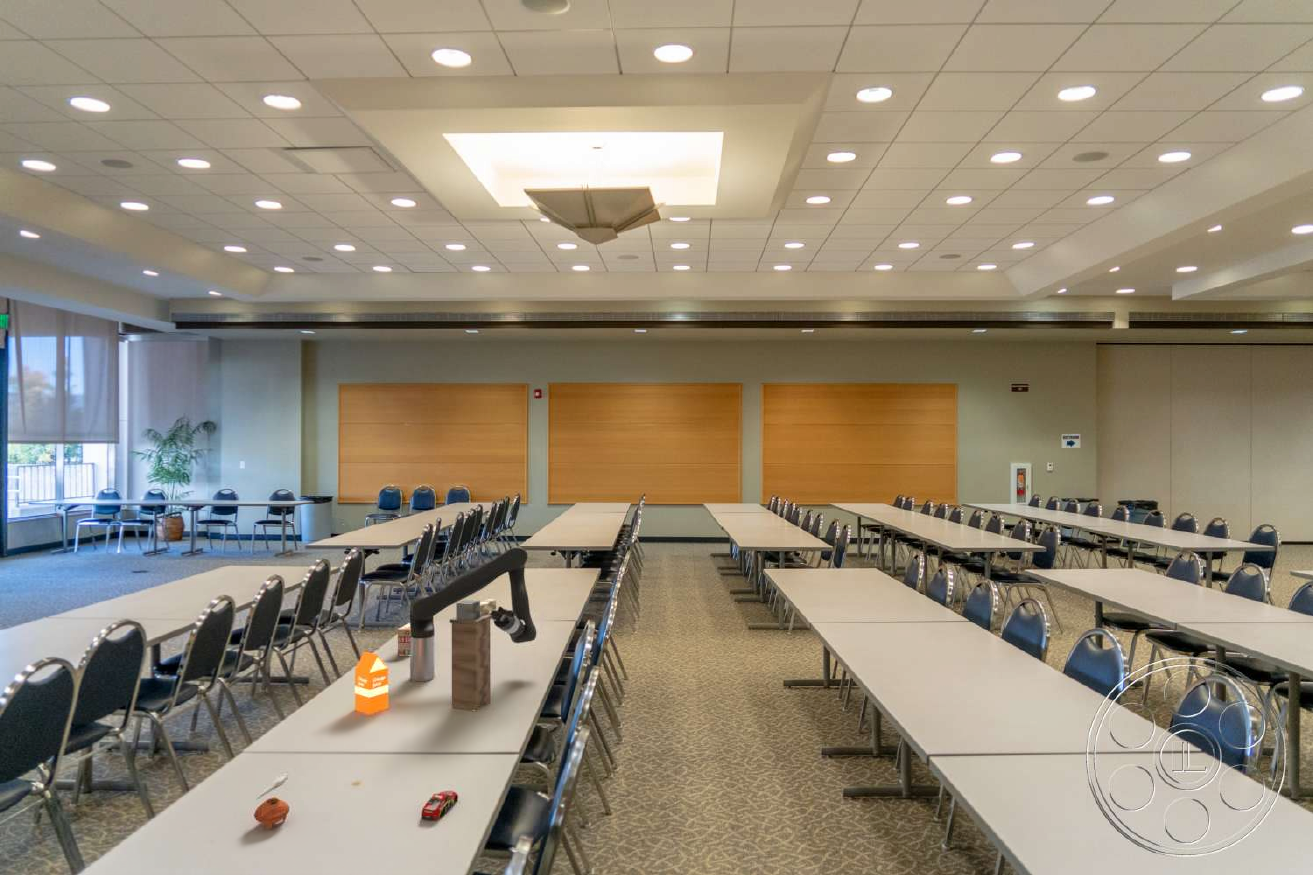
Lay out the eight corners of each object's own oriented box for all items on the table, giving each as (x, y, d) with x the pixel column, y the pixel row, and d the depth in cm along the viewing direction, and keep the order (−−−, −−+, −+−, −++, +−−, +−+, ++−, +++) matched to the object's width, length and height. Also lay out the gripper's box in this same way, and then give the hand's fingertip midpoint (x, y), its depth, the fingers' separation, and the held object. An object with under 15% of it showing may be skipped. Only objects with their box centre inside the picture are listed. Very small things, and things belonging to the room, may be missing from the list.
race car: (442, 797, 206) (442, 782, 206) (461, 799, 205) (461, 784, 205) (417, 820, 193) (417, 804, 193) (436, 823, 192) (436, 807, 192)
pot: (281, 811, 197) (285, 787, 196) (291, 829, 191) (294, 805, 190) (248, 821, 191) (251, 796, 190) (257, 840, 186) (260, 815, 185)
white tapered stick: (284, 776, 219) (284, 770, 218) (292, 777, 218) (292, 770, 218) (249, 803, 204) (249, 796, 204) (258, 804, 203) (258, 797, 203)
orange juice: (373, 703, 279) (373, 648, 279) (388, 708, 274) (388, 652, 274) (354, 709, 273) (354, 653, 273) (369, 714, 268) (369, 657, 268)
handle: (485, 608, 292) (485, 592, 292) (499, 609, 291) (499, 593, 291) (456, 619, 273) (456, 602, 273) (471, 620, 272) (471, 603, 272)
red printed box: (417, 643, 363) (417, 617, 363) (429, 643, 362) (429, 618, 362) (397, 656, 341) (397, 628, 341) (411, 656, 341) (411, 629, 341)
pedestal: (466, 698, 284) (466, 612, 284) (492, 701, 281) (492, 614, 281) (449, 708, 273) (449, 619, 274) (476, 711, 270) (476, 621, 270)
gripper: (493, 611, 306) (475, 597, 293) (525, 613, 302) (508, 599, 289) (488, 629, 303) (469, 616, 289) (520, 632, 299) (503, 619, 285)
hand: (489, 608), depth 289 cm, fingers open, 8 cm apart
